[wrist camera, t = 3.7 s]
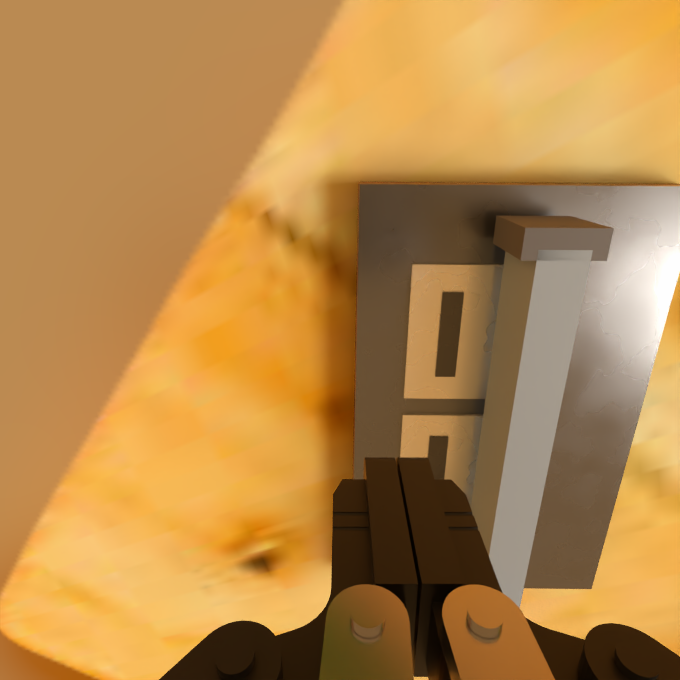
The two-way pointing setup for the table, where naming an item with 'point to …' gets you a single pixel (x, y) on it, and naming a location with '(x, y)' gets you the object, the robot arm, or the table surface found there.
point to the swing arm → (528, 378)
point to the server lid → (478, 334)
